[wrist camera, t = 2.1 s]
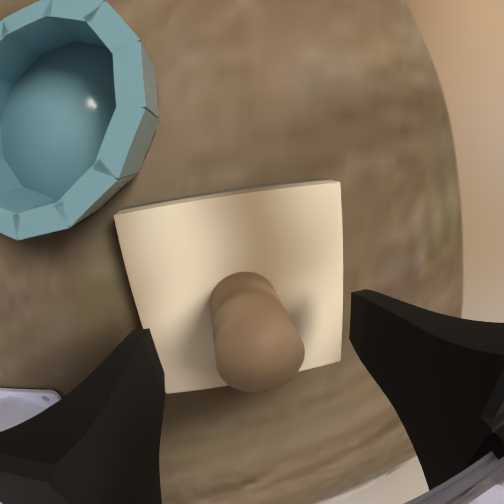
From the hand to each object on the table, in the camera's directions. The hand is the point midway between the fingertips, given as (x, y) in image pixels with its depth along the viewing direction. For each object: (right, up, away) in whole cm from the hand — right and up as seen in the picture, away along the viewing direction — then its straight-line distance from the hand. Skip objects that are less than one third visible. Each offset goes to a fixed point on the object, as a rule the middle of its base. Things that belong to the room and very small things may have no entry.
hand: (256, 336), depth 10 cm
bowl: (-8, +9, 0) cm, 12 cm away
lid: (-1, +1, +4) cm, 4 cm away
